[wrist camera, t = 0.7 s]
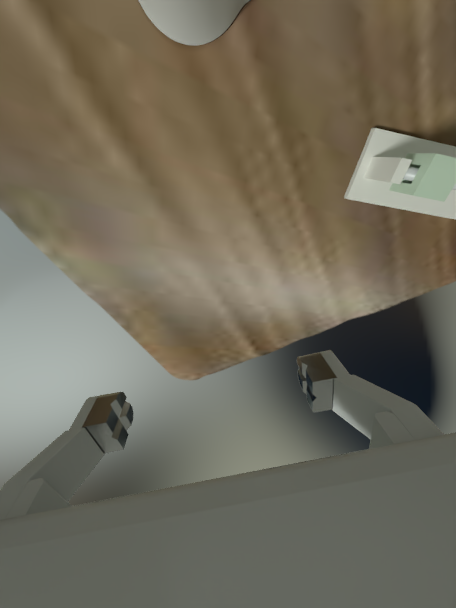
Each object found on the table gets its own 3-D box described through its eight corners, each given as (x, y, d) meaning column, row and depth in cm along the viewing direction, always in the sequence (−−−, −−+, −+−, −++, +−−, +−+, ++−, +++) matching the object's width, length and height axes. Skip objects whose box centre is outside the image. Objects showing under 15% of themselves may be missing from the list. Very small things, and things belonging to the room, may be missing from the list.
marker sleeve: (407, 153, 34) (436, 153, 30) (436, 159, 35) (469, 161, 30) (389, 190, 37) (413, 195, 32) (416, 195, 38) (444, 201, 33)
